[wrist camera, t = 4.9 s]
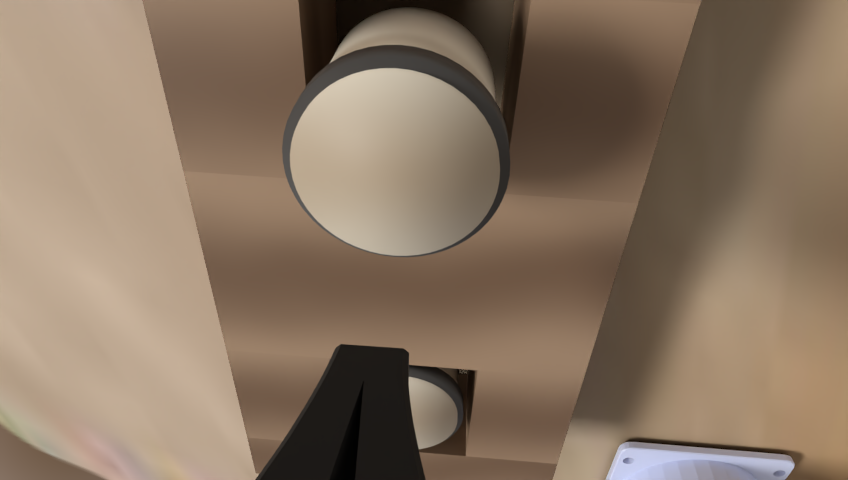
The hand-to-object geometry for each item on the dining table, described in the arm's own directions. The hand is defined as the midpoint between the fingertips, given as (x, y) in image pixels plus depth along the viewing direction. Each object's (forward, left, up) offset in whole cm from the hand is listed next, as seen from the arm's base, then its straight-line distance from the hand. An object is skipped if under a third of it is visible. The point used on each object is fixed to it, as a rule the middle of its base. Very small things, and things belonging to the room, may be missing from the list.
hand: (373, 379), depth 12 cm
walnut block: (-3, 0, -10) cm, 10 cm away
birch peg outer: (+3, 0, -6) cm, 7 cm away
